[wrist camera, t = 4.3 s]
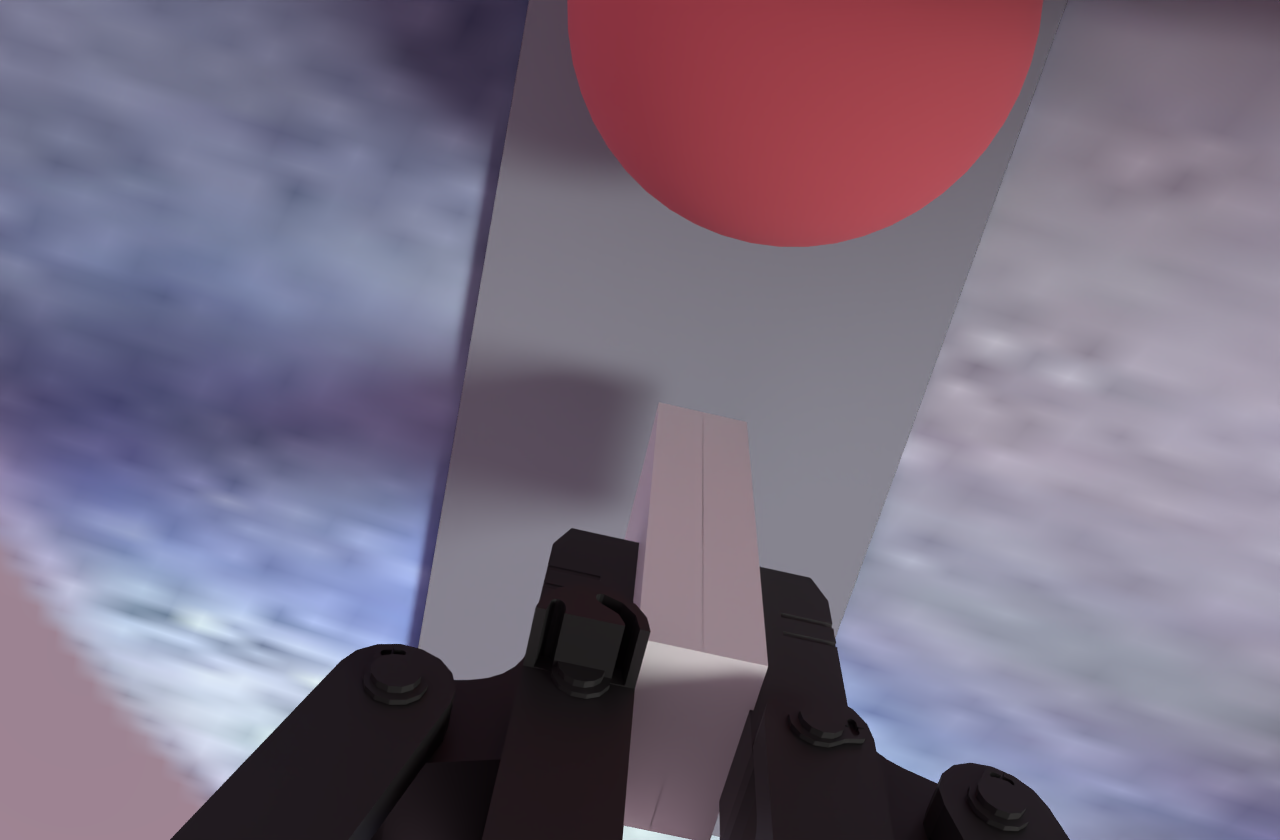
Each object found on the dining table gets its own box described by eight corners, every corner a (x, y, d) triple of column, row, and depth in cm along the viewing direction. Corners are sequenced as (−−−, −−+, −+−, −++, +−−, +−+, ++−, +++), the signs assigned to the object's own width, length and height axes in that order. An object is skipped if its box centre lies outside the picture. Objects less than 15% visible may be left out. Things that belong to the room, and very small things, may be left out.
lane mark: (727, -1148, 12) (728, -1165, 12) (1408, -947, 13) (1417, -960, 12) (399, 762, 24) (397, 769, 24) (759, 837, 24) (759, 845, 24)
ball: (504, 245, 12) (555, 160, 18) (1013, 345, 13) (909, 231, 18) (598, -378, 10) (623, -256, 16) (1214, -238, 11) (1026, -166, 16)
